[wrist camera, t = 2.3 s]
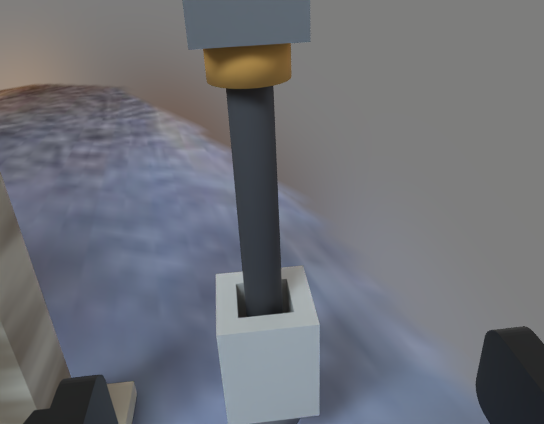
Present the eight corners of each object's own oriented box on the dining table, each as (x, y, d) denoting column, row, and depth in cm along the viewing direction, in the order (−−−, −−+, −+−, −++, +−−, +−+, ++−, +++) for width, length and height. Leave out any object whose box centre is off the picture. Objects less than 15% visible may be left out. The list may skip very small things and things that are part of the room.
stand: (-80, 566, 23) (-678, -228, 9) (-5, 410, 31) (-267, -145, 17) (301, 514, 24) (282, -248, 11) (280, 377, 32) (253, -163, 18)
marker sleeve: (228, 426, 24) (216, 335, 21) (226, 358, 28) (215, 274, 25) (319, 415, 24) (319, 324, 21) (304, 349, 28) (303, 265, 25)
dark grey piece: (237, 446, 25) (170, -97, 14) (234, 385, 29) (179, -87, 17) (312, 436, 25) (309, -103, 14) (300, 378, 29) (290, -92, 17)
